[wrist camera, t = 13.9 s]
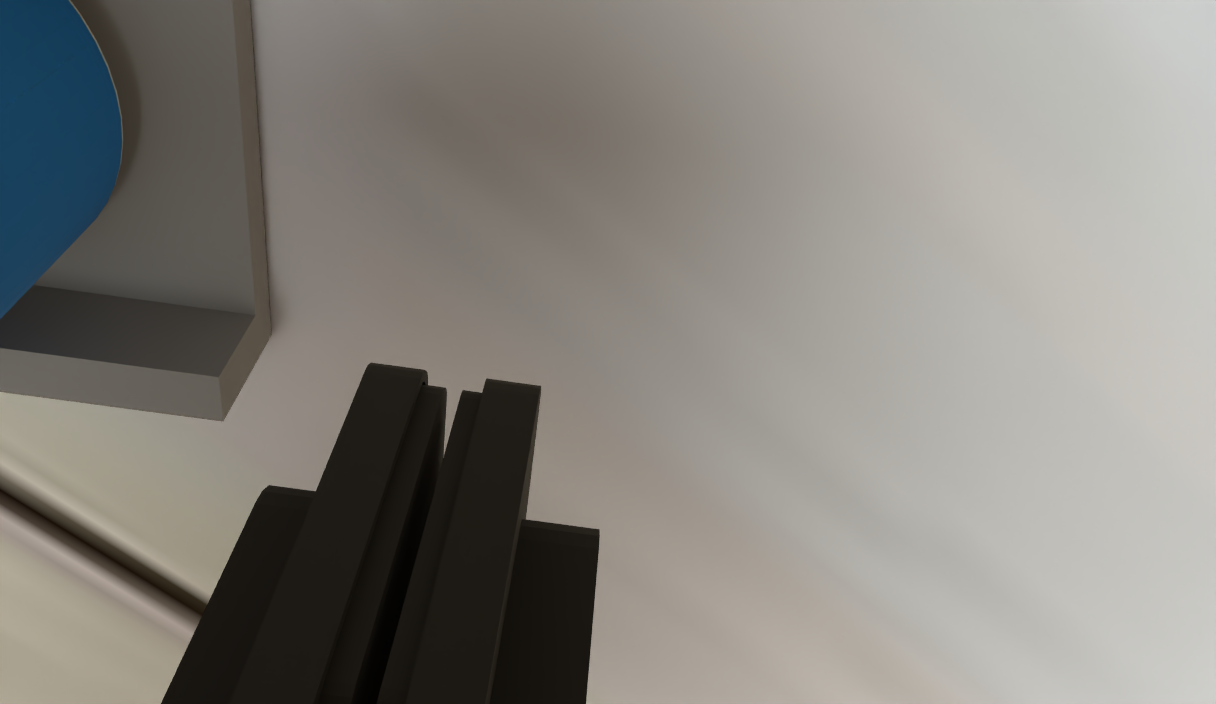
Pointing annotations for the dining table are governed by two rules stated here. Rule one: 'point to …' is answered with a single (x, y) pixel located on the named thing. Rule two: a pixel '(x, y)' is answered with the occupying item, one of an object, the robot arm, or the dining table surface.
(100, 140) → the beverage can
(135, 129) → the tray
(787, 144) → the dining table surface
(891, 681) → the dining table surface
